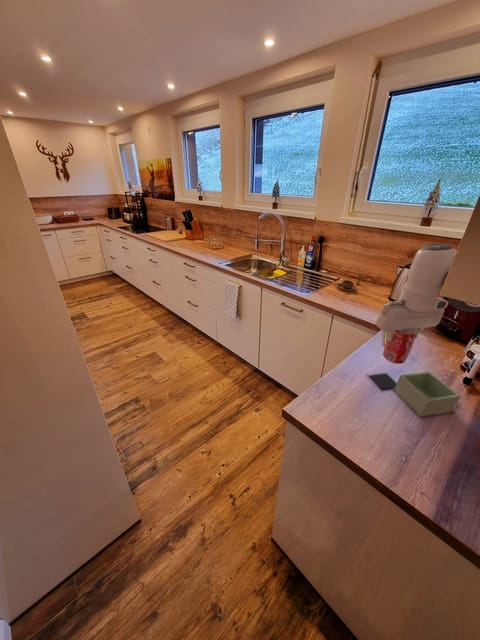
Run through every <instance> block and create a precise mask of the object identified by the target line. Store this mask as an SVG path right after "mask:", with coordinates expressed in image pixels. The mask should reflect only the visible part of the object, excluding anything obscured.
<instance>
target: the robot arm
mask: <svg viewBox="0 0 480 640" xmlns="http://www.w3.org/2000/svg"><path fill="white" fill-rule="evenodd" d="M456 252H458V250H456V249H455V247H454V246H452V245H449V244H444V243H443V244H441V243H439V244H438V243H437V244H428V245H424V246H423V247H421V248H420V249H419V250H418V251H417V252H416V254H415V256H414V258H413V260H412V262H411V264H410V268H409V270H408V272H407V280H406V282H405V284H403V287H402V290H401V292H400V295H399V297H398V300H397V301H389V302H388V303H386V304H384V305H383V308H382V309H381V311H380V312H379V314H378V317H377V319H376V321H375V325H376V328H378V329H380V330H381V331H382V332H385V333H386V332H387V334H388V335H387V337H386V339H387V340H388V341H394V339H395V336H394V335H393V333H394V332H395V330H404V329H414V330H415V340H416V339H417V338H418V335H420V334H421V333H422V332H423V331H424V329H425V328H426V329H427V328H435V327H436V326H438V325H439V324H440V323H441V320H442V318H443V316H444V313H445V309H446V308H447V307H448V306H449V304H450V305H451V306H452V307H453V308H455V309H457V310H459V311H461V312H467V313H476V312H480V305H474V304H470V303H466V302H462V301H458V300H453V299H450V298H447V297H446V298H447V300H446V299H444V298H443V297H440V296H439V294H440V293H442V292H441V290H442V287H443V285H444V282H445V279H446V277H447V275H448V271H449V269H450V266H451V264H452V262H453V259H454V257H455V255H456Z"/></svg>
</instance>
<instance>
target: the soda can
mask: <svg viewBox="0 0 480 640" xmlns="http://www.w3.org/2000/svg"><path fill="white" fill-rule="evenodd" d="M393 335H394V336H395V339H394V341H388V340H387V343H386V345H385V344H384V348H383V353H382V356H383V358H384V359H385V360H386V361H388V362H389V363H391V364H395V365H396V364H397V365H401V364H404V363H405V362H406V361H407V359H408V357H409V354H410V352H411V350H412V348H413V345H414V343H415V340H416V339H415V330H414V329H404V330H395V332H394V333H393Z"/></svg>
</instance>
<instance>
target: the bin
mask: <svg viewBox="0 0 480 640" xmlns="http://www.w3.org/2000/svg"><path fill="white" fill-rule="evenodd" d="M396 383H397V384H396V387H395V388H393V391H395V392H396V394H397V395H398V396H399V397H400V398H402V400H404V401H405V403H407V405H408V406H409V407H410V408H411V409H413V411H414V412H415V413H416V414H418V416H419V417H427V416H433V415H439V414H445V413H451V412H453V410H454V408H455V407H456V405H457V404H458V403H459V400H460V398H461V397H462V396H461V395H460V394H459V393H458V392H456V391H455V390H454V389H453V388H451V387H450V386H449V385H448V384H446V383H445V382H444V381H443V380H441V379H440V378H439V377H438V376H436V375H435V374H434V373H432V372H431V371H430V370H429V371H423V372H422V371H421V372H415V373H408V374H407V373H406V374H399V377H398V380H397V381H396Z"/></svg>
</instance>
